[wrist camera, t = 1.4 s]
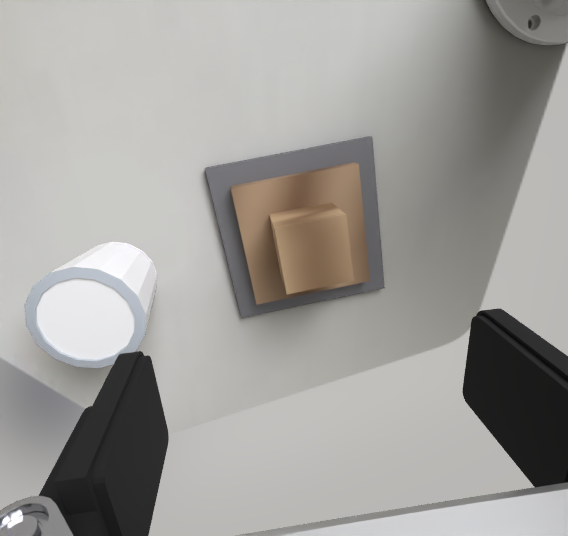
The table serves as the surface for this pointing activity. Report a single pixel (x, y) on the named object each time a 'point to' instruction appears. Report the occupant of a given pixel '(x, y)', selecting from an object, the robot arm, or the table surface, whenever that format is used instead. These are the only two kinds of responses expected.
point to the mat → (282, 166)
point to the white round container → (93, 305)
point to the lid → (303, 232)
